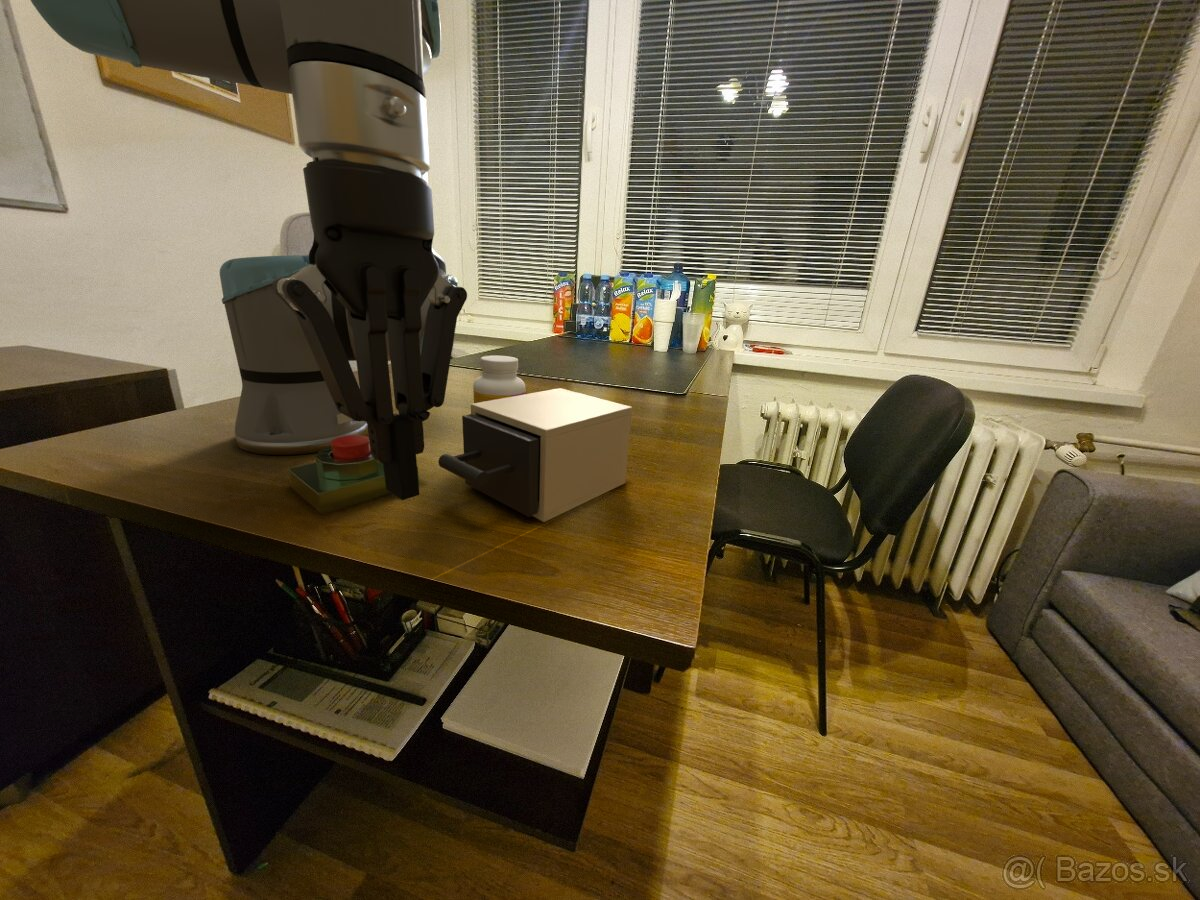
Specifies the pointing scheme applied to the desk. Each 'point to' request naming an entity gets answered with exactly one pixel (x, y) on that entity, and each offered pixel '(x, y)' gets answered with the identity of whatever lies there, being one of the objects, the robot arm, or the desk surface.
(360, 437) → the button
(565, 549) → the desk surface
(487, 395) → the supplement bottle
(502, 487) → the drawer
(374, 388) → the robot arm
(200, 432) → the desk surface
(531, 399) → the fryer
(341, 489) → the block
